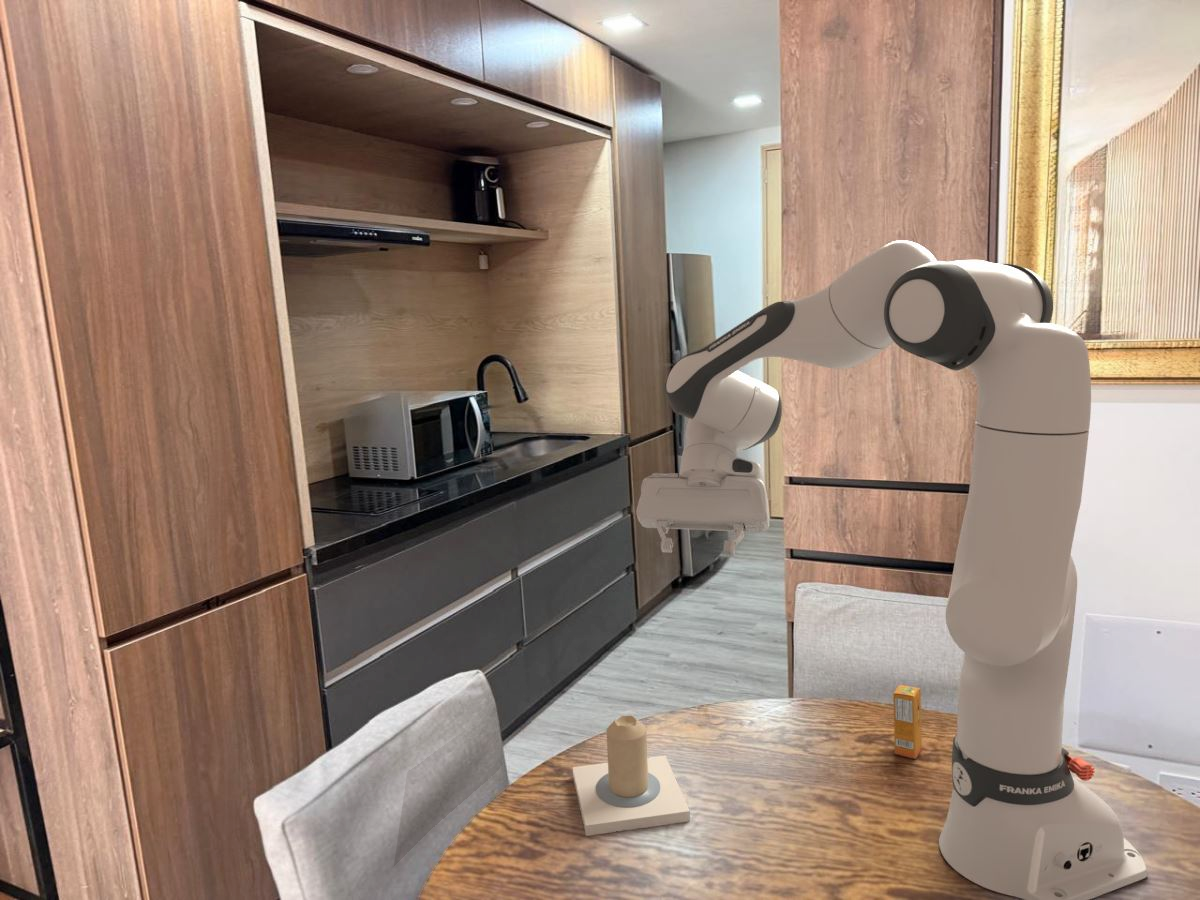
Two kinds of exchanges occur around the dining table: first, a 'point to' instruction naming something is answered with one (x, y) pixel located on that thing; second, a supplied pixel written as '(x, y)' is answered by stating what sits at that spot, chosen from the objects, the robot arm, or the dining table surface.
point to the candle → (627, 757)
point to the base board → (629, 799)
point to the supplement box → (907, 721)
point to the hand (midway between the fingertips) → (697, 552)
